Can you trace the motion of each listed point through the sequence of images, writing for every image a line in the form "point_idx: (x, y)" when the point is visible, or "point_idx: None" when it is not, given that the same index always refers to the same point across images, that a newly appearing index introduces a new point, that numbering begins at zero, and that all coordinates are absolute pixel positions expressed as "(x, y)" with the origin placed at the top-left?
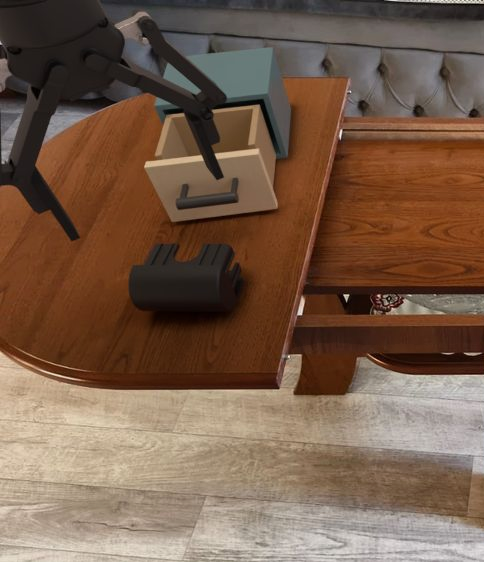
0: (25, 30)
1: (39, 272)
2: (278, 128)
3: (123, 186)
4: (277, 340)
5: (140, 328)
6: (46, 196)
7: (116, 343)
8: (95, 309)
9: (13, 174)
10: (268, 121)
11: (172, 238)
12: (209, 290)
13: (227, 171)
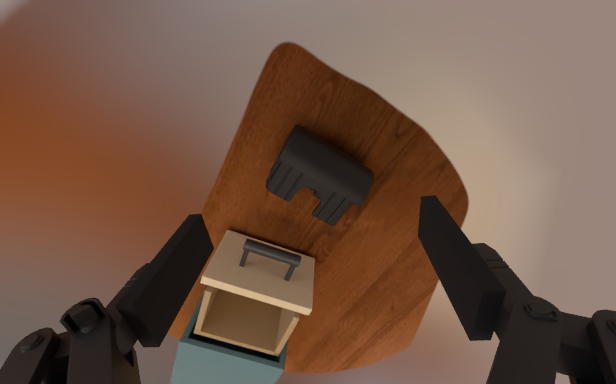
0: None
1: (423, 260)
2: (197, 305)
3: (338, 310)
4: (264, 72)
5: (374, 160)
6: (474, 261)
7: (398, 154)
8: (399, 201)
9: (560, 332)
10: None
11: (319, 243)
12: (300, 138)
13: (243, 274)
